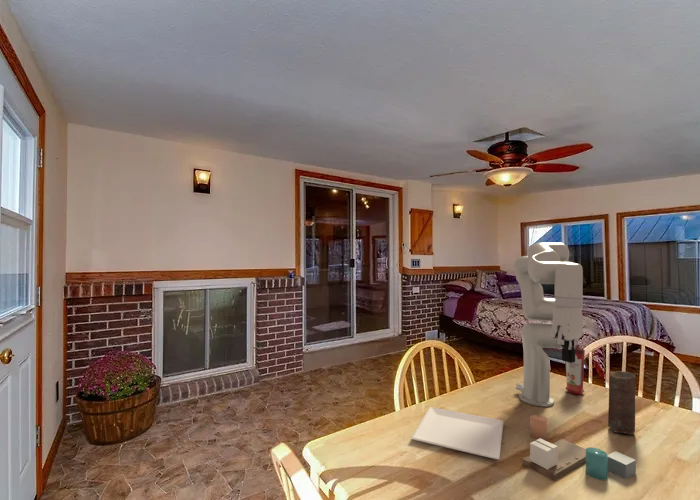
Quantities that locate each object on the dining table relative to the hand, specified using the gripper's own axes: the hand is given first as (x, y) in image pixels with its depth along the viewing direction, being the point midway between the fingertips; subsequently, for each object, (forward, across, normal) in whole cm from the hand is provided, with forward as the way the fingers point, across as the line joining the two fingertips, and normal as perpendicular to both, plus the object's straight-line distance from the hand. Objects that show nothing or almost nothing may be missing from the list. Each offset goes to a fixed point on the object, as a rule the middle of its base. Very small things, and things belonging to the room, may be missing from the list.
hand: (568, 361), depth 112 cm
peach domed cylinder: (+27, +1, -9) cm, 29 cm away
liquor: (+27, -48, -22) cm, 59 cm away
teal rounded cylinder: (+27, +7, +11) cm, 30 cm away
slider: (+25, +17, +2) cm, 31 cm away
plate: (+28, +22, -24) cm, 43 cm away
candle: (+27, -26, +4) cm, 38 cm away
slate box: (+27, 0, +14) cm, 31 cm away
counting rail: (+27, +10, +2) cm, 29 cm away
